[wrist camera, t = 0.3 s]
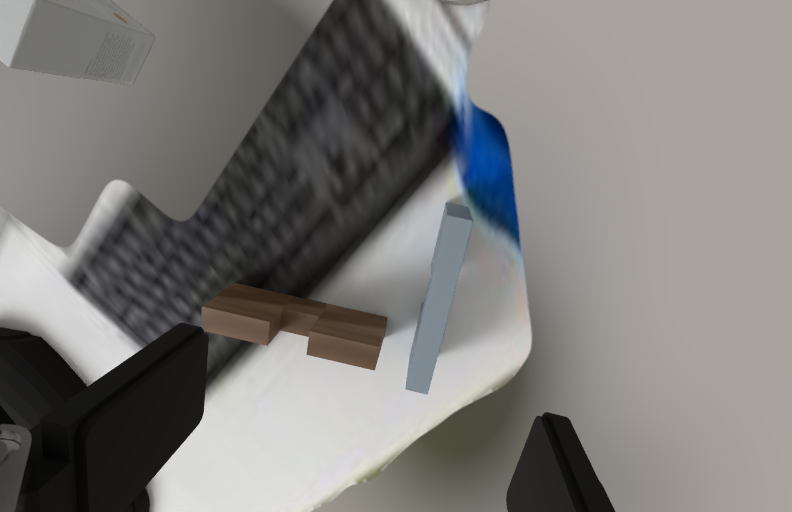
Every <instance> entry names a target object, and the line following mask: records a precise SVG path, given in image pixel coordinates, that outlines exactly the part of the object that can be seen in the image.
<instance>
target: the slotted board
mask: <svg viewBox="0 0 792 512" xmlns="http://www.w3.org/2000/svg"><path fill="white" fill-rule="evenodd" d="M387 319H388V317H384V316H379V315H375V314H370V313H366V312H361V311H357V310H353V309H348V308H344V307H339V306H335V305H330V304H326V303H321V302H317V301H313V300H308V299H304V298H299V297H295V296H290V295H286V294H282V293H277V292H273V291H268V290H264V289H259V288H255V287H250V286H246V285H242V284H237V283H234V284H232V285H231V286H229V287H228V288H227V289H225V290H224V291H223V292H221V293H220V294H218V295H217V296H216V297H214V298H213V299H212V300H210V301H209V302H207V303H206V304H205V305H203V306H202V320H201V327H202V328H203V330H204V331H207V332H211V333H216V334H220V335H224V336H229V337H233V338H237V339H241V340H246V341H250V342H254V343H259V344H263V345H267V346H268V344H269V343H270V342H271V341H272V340H273V338H274V337H275V336H276V335H277V333H278V332H279V331H280V330H281V331H285V332H290V333H294V334H299V335H303V336H307V337H309V340H308V348H307V355H310V356H315V357H319V358H323V359H328V360H332V361H336V362H341V363H345V364H349V365H353V366H358V367H362V368H366V369H371V370H375V368H376V364H377V360H378V357H379V353H380V349H381V346H382V342H383V339H384V334H385V329H386V324H387Z"/></svg>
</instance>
